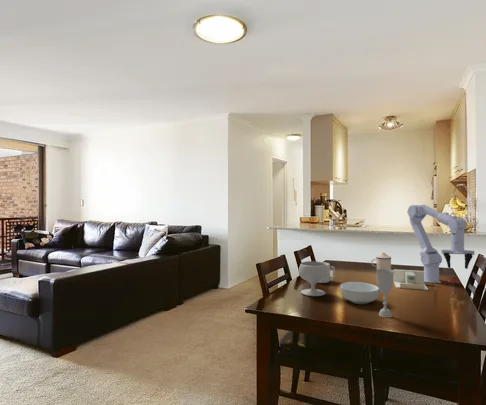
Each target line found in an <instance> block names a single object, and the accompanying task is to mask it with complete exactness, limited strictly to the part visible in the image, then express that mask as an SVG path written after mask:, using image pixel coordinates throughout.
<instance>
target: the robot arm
mask: <svg viewBox="0 0 486 405" xmlns="http://www.w3.org/2000/svg"><path fill="white" fill-rule="evenodd" d="M406 212H407V215H408V217H409V224H410V226H411V228H412V230H413V233H414V235H415V237H416V239H417V241H418V245H419V246H420V248H421V251H420V253H419V255H420V262H421V263H422V264H423V271H424V283H432V284H433V283H434V284H441V283H442V281H440V267H439V266H440V264H441V263H442V261H443V257H444V260H445V261H446V265H447V268H448V269H451V255H464V269H466V270H467V269H469V265H470V262H471V260H472V259H473V257H474V256H475V250H466V249H465V229H466V228H467V226H468V225H467V221H466V220H465V219H464V218H462V217H461V218H457V216H455V215H452V214H449V212H447V211H446V212H440V211H438V210H435V209H433V208H432V207H430V206H429V205H426V204H418V205H417V204H416V205H415V204H411V205H409V207H408V209H407V211H406ZM427 215H428V216H430V217H432V218H435V219H437V220H438V222H439V223H441V224H443V225H445V226H447V227H448V228H449V231H450V249H441V250H440V251H441V252H440V253H441V254H442V255H443V257H442V256H441V254H440V253H439V251H438V250H437V249H435V248H434V247H433V245H432V243H431V242H430V239H429V237H428V235H427V233H426V230H425V228H424V225H423V224H422V221H423V220H424V219H425V218H426V216H427Z"/></svg>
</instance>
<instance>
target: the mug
mask: <svg viewBox="0 0 486 405" xmlns="http://www.w3.org/2000/svg"><path fill="white" fill-rule="evenodd" d="M321 262H322V261H321ZM322 263H324V264H325V266H326V268H327V276H326V277H325V278H324V279H323V280H321V281H319V282H317V283H318V284H325V283H326V284H327V283H329V282H331V279H334V278H335V277H336V268H335V266H333V265H331V264H330V263H329V262H325V261H323V262H322ZM331 268H332V269H333V276H331ZM317 283H316V284H317Z"/></svg>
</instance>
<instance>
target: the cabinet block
mask: <svg viewBox="0 0 486 405" xmlns="http://www.w3.org/2000/svg"><path fill="white" fill-rule="evenodd" d="M405 283H410V284H416V276H415V274H414V273H413V272H405Z"/></svg>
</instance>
